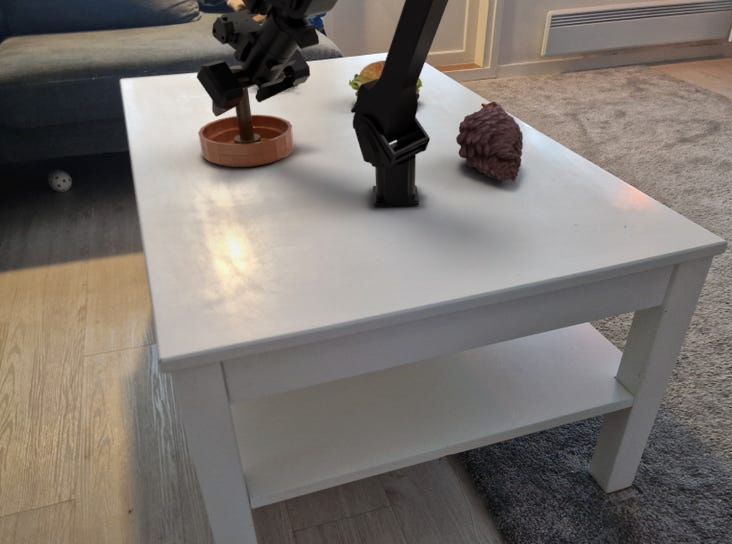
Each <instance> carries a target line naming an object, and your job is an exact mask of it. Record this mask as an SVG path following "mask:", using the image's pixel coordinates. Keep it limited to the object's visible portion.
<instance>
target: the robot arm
mask: <svg viewBox="0 0 732 544" xmlns="http://www.w3.org/2000/svg"><path fill="white" fill-rule="evenodd" d="M338 1H339V0H241V2H242V3H243V5H244V6H245V7H246V9H247V11H248V12H249V13H250V14H248V13H247V12H245V11H241V10H238V11H231V12H228V13H223V14H222V15H221V16H217V17H216V19H215V21H214V22H213V23H212V28H211V29H212V30H211V34H212V36H213V38H214V39H216V40H217V41H218V42H219V43H220V44H222V45H229V46H230V47H231V48H232V49H233V50H234V53H233V54H232V55H233V57H234V59H235V60H236V62H238V63H239V62H240V63H241V67H242V70H243V71H239V72H236V73H233V72H232V71H231V69H230V66H229V65H228V63H227V62H226V61H224V60H216V61H212V62H211V61H210V62H208V63H203V64H201V65H200V67H199V69H198V72H197V73H196V74H197V75H196V79H197V80H198V81H199V83H200V84H201V86H202V87H203V89H204V91H205V92H206V93H207V95H208V96H209V98H210V99H211V111H212V113H213V115H214V116H215V117H216V118H217V117H219V116H221V115H223V114H226V113H227V112H229V111H230V110H232V109H235V107H236V106H238V105H239V102H240V101H241V100H242V98H243V97H244V94H243V89H246V88H248V89H250V88H252V87H255V86H257V88H258V89H257V91H256V93H255V100H256V101H257V102H258V103H262V102H264V101H266V100H269V99H270V98H273V97H276V96H279V94H283V93H284V92H287V91H289V90H292V89H293V88H296V87H298V86H299V85H301V84H304V83H306V82H307V80H308V79H309V78H310V76H311V70H310V69H311V68H310V66H309V63H307V61H306V60H305V58H304V57H303V55H302V53H301V52H300V50H303V49H306V48H310V47H314V46H318V45H319V44H320V38H319V34H318V33H317V27H316V24H311V22H310V20H309V17H315V16H318V15H322V14H327V13H329V12H331V11H332V10H333V8H334V7H335V6H336V4H337V2H338ZM448 3H449V0H404V3H403V6H402V9H401V13H400V15H399V18H398V21H397V24H396V27H395V30H394V33H393V36H392V39H391V42H390V46H389V49H388V51H387V54H386V57H385V60H384V61H385V63H384V66H383V69H382V73H381V75H380V77H379V78H378V79H375V80H373V81H370V82H367V83H364V84H361V85H360V88H359V90H357V91H358V95H357V96H356V101H355V104H354V106H353V107H352V108H351V109H350V113H352V114H353V117H352V129H353V130H354V132H355V136H356V139H357V142H358V146H359V149H360V152H361V156H362V159H363V161H364V162H365V163H368V164H370V165H371V167H373V168H374V171H375V172H374V173H375V178H374V179H375V185H373V186H372V201H373V204H372V205H373V207H375V208H376V207H377V208H379V207H380V208H381V207H382V208H383V207H385V208H386V207H418V206H420V198H419V193H418V187H417V185H416V170H417V169H416V167H417V166H416V162H417V159H416V157H417V156H416V155H418V154H420V153H423V152H426V151H427V148H428V146H429V143H430V139H431V137H430V136H429V134H428V133H427V131H426V130H425V128H424V127H423V125H422V124H421V123H420V121H419V120H418V118H417V117H416V116H417V111H418V107H419V99H418V100H417V94H416V85H417V82H418V79H420V76H421V74H422V71H423V68H424V65H425V63H426V60H427V58H428V56H429V52H430V50H431V48H432V45H433V42H434V39H435V37H436V34H437V32H438V29H439V26H440V24H441V21H442V19H443V16H444V13H445V11H446V8H447V6H448ZM258 14H259V15H260V16H262V17H263V16H265V18H264V20H263V21H262V23H261V24H260V23H259V22H258V21H257V20H255V19H254V18H253V17H252V16H251V15H258ZM298 48H299V49H300V50H299V49H298Z"/></svg>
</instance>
